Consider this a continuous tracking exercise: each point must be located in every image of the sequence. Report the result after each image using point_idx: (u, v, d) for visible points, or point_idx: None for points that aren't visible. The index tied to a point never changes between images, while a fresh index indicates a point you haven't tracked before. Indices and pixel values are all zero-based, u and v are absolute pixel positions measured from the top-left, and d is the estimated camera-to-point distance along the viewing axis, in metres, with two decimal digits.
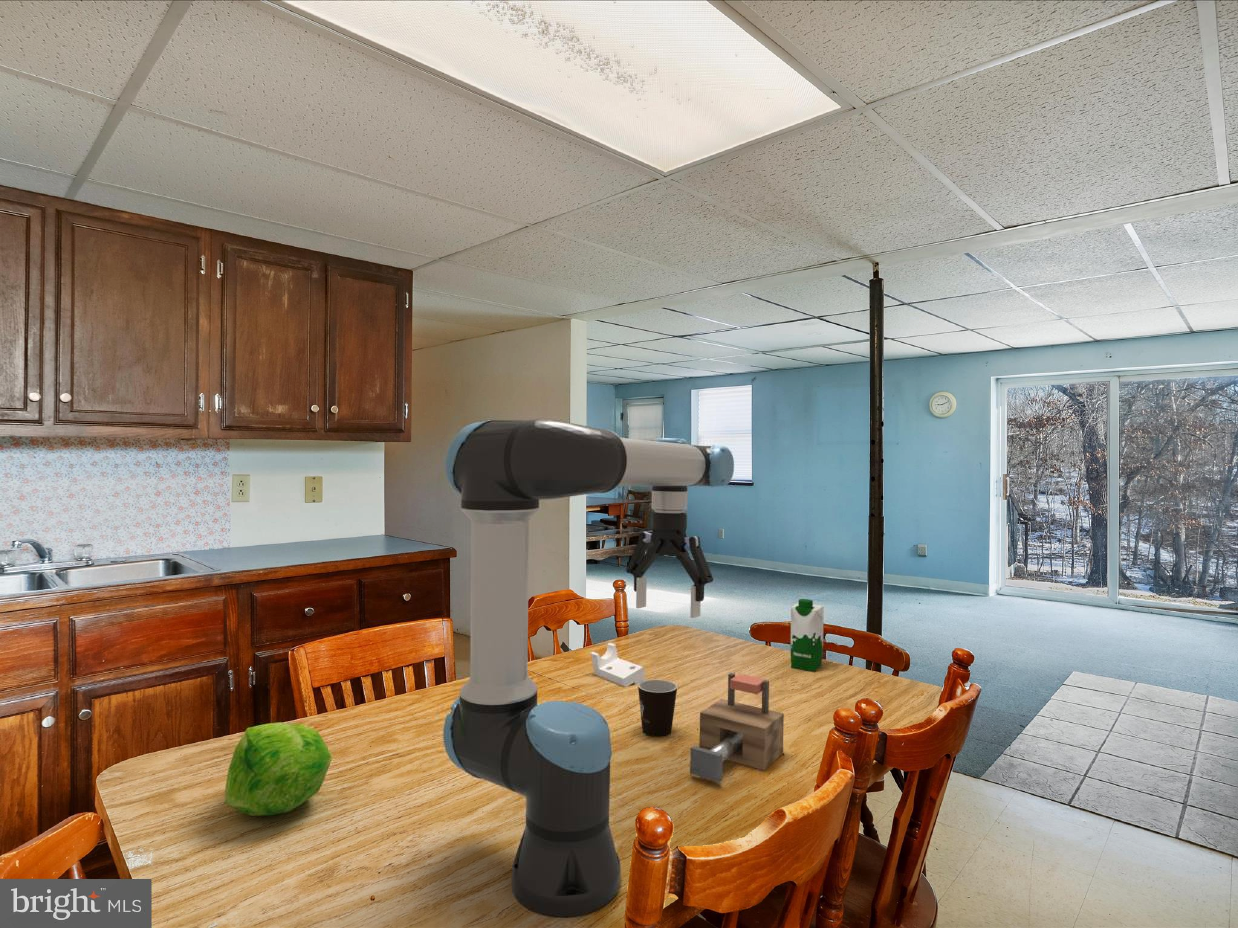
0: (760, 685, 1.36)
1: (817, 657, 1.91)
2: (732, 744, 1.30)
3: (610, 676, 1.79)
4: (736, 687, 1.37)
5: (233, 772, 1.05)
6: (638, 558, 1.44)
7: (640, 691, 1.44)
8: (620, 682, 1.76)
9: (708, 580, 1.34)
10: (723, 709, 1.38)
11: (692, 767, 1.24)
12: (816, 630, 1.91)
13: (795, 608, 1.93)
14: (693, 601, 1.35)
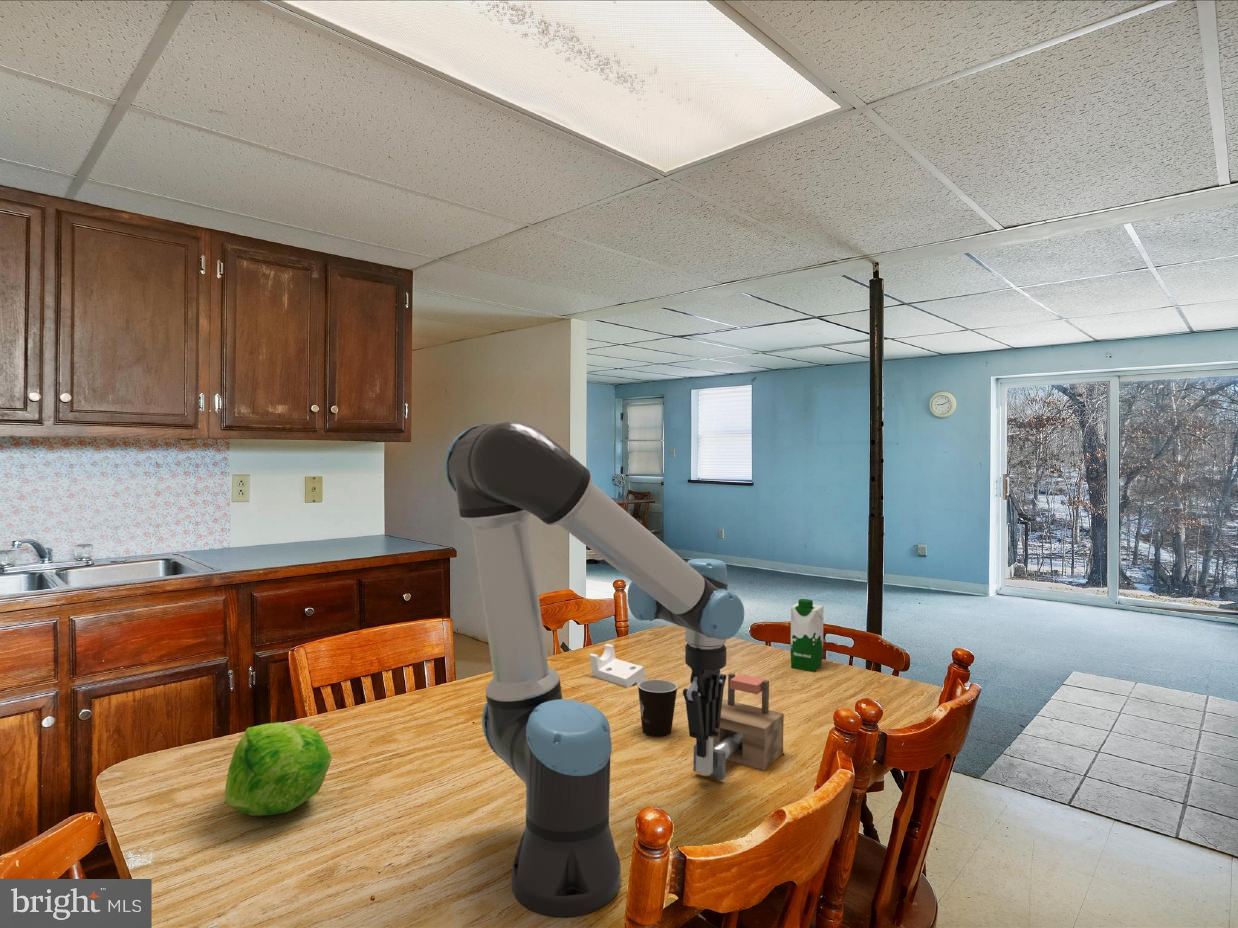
0: (760, 685, 1.36)
1: (817, 657, 1.91)
2: (735, 742, 1.31)
3: (611, 677, 1.78)
4: (736, 687, 1.37)
5: (233, 772, 1.05)
6: None
7: (640, 691, 1.44)
8: (622, 683, 1.76)
9: (692, 736, 1.20)
10: (723, 709, 1.38)
11: None
12: (816, 630, 1.91)
13: (795, 608, 1.93)
14: None
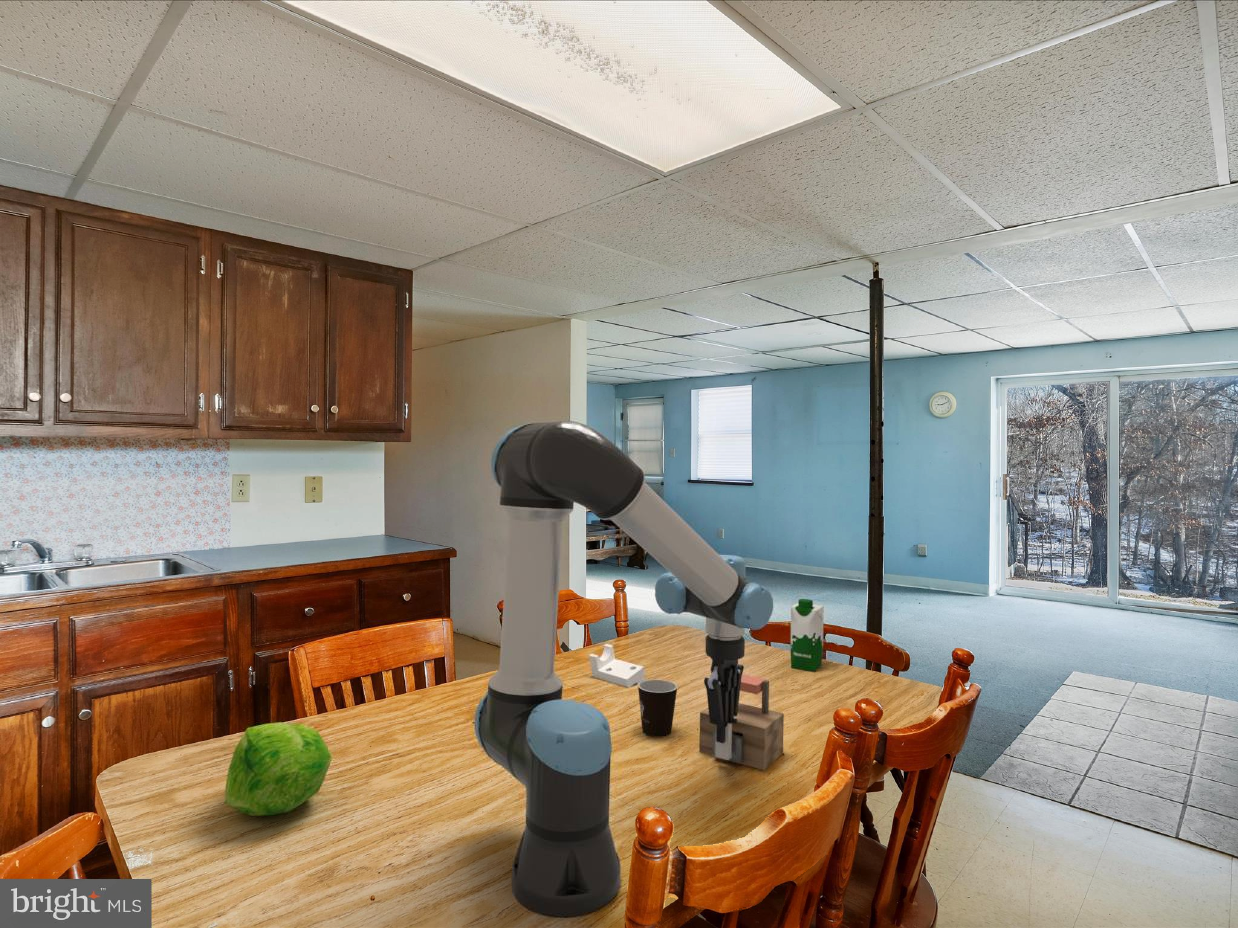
0: (760, 685, 1.36)
1: (817, 657, 1.91)
2: None
3: (611, 677, 1.78)
4: None
5: (233, 772, 1.05)
6: None
7: (640, 691, 1.44)
8: (622, 683, 1.75)
9: (712, 722, 1.26)
10: None
11: None
12: (816, 630, 1.91)
13: (795, 608, 1.93)
14: None
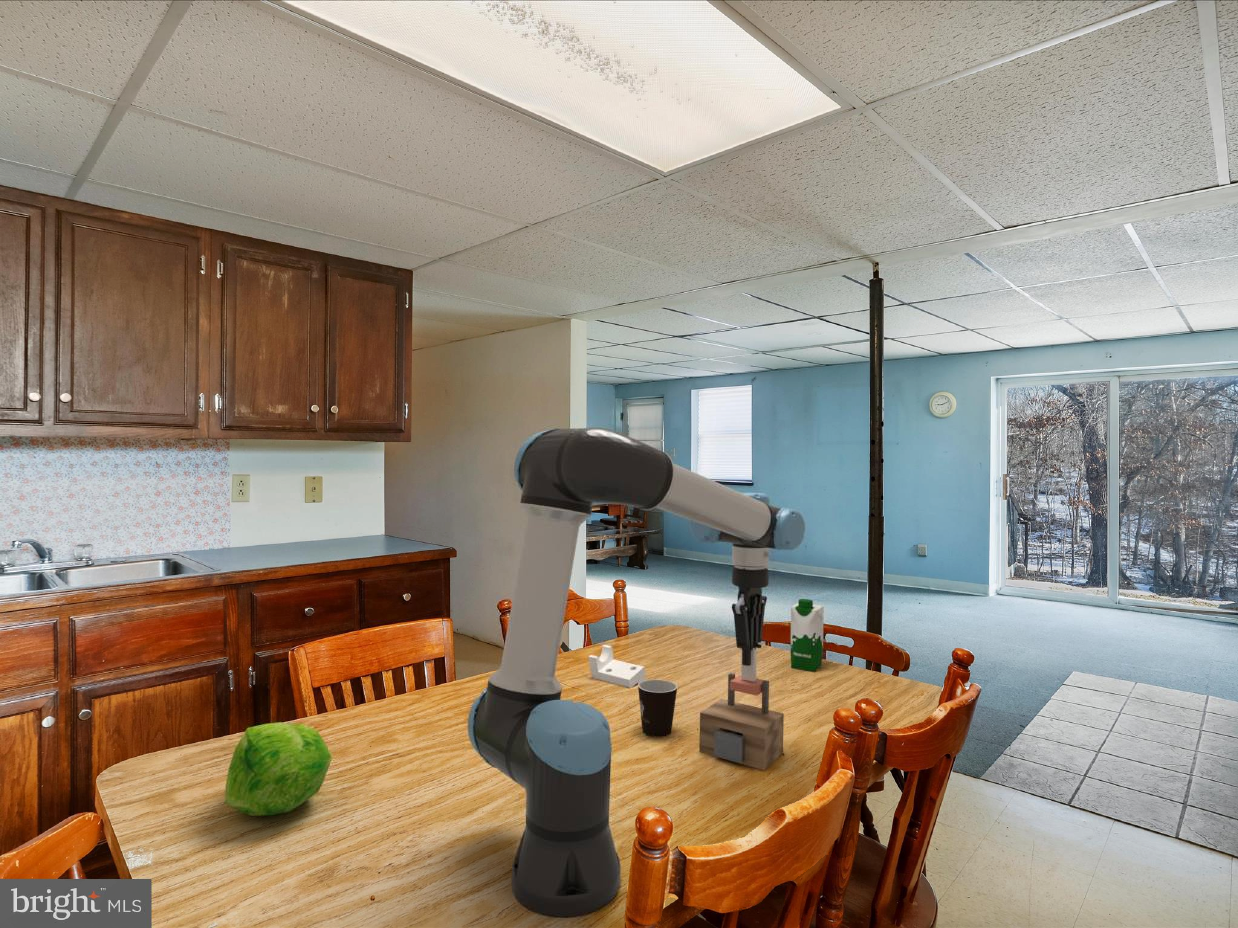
0: (760, 686, 1.36)
1: (817, 657, 1.91)
2: None
3: (612, 678, 1.77)
4: (736, 688, 1.37)
5: (233, 772, 1.05)
6: None
7: (640, 691, 1.44)
8: (624, 683, 1.75)
9: (739, 646, 1.36)
10: (723, 709, 1.38)
11: (716, 749, 1.32)
12: (816, 630, 1.91)
13: (795, 608, 1.93)
14: (742, 663, 1.39)
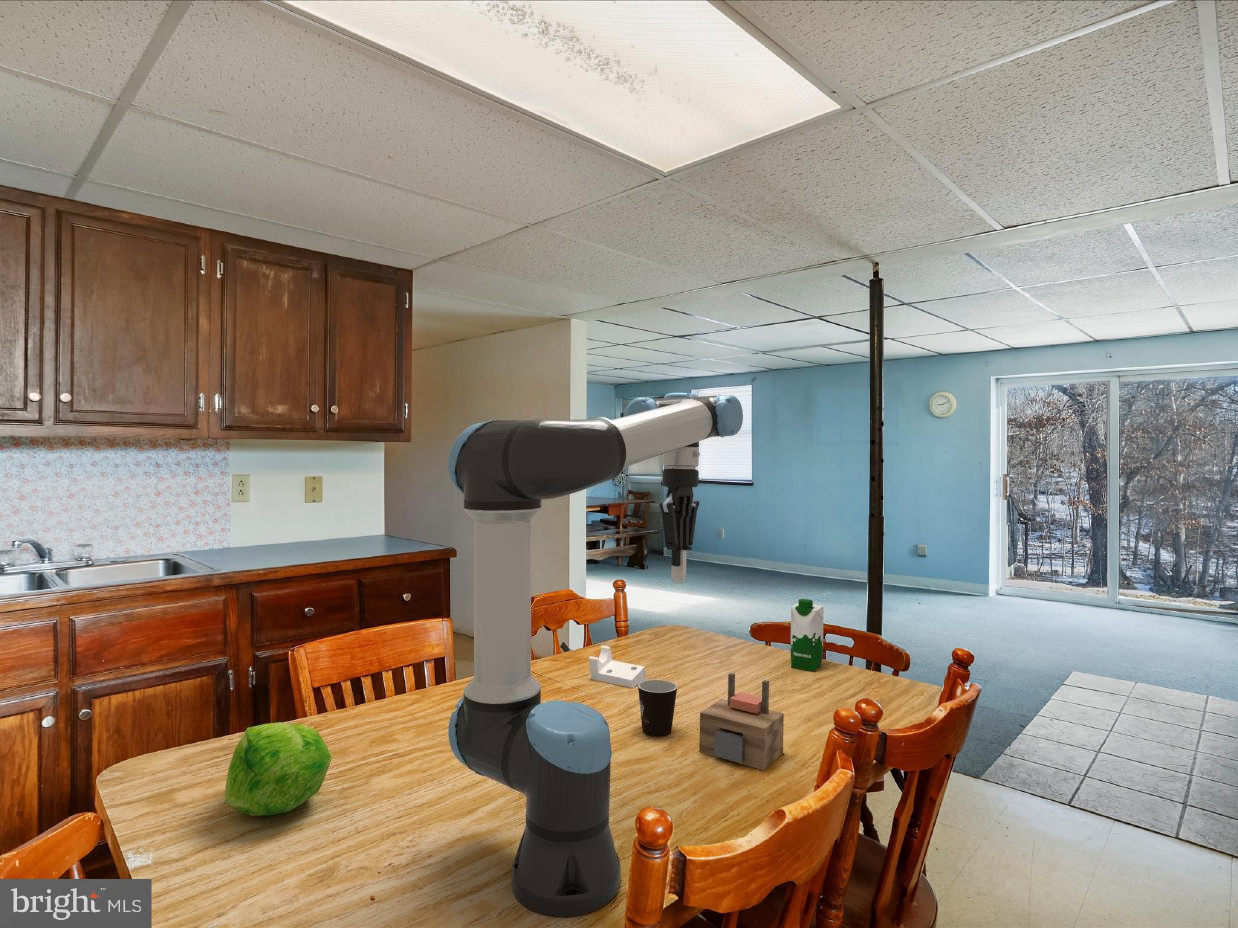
0: (760, 704, 1.36)
1: (817, 657, 1.91)
2: None
3: (613, 679, 1.77)
4: (736, 706, 1.37)
5: (233, 772, 1.05)
6: None
7: (640, 691, 1.44)
8: (626, 684, 1.75)
9: (667, 546, 1.35)
10: (723, 709, 1.38)
11: (716, 749, 1.32)
12: (816, 630, 1.91)
13: (795, 608, 1.93)
14: (672, 565, 1.38)
